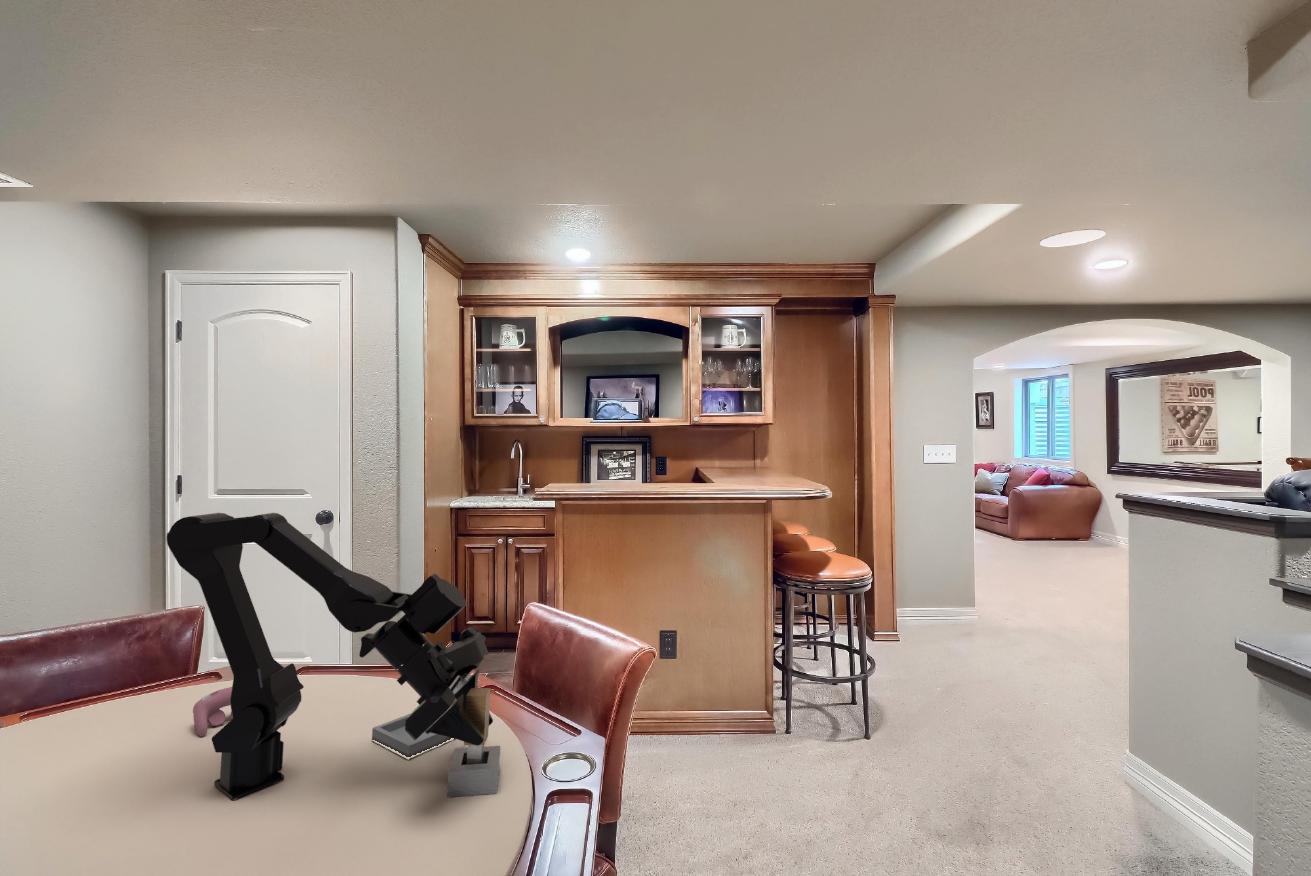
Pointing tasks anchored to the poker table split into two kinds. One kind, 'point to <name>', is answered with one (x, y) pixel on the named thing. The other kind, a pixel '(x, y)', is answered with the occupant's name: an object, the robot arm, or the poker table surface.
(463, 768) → the block
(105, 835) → the poker table surface
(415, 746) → the tool tray
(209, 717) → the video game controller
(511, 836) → the poker table surface
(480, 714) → the wooden handled tool
